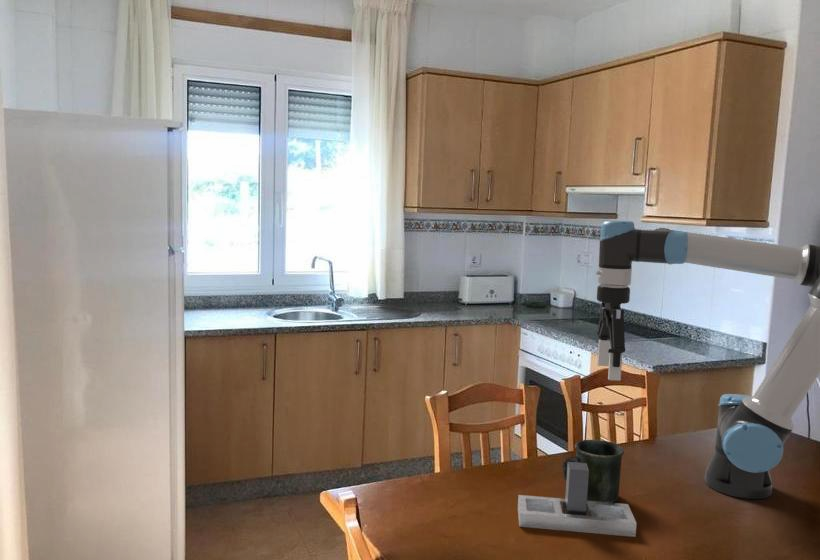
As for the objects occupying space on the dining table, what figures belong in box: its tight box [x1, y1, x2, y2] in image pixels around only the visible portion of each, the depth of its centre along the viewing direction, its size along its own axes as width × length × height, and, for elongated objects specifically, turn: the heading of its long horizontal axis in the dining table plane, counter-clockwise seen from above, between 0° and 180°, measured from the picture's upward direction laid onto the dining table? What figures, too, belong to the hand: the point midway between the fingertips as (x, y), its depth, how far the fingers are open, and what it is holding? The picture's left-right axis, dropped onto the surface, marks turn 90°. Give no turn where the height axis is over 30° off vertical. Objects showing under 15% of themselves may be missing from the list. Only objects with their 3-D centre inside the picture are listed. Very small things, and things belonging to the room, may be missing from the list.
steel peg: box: [564, 462, 589, 516], centre depth 147 cm, size 4×4×12 cm
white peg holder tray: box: [517, 494, 638, 538], centre depth 147 cm, size 24×9×3 cm, turn 83°
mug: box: [561, 439, 625, 503], centre depth 160 cm, size 11×15×12 cm
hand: (608, 372), depth 164 cm, fingers open, 13 cm apart
